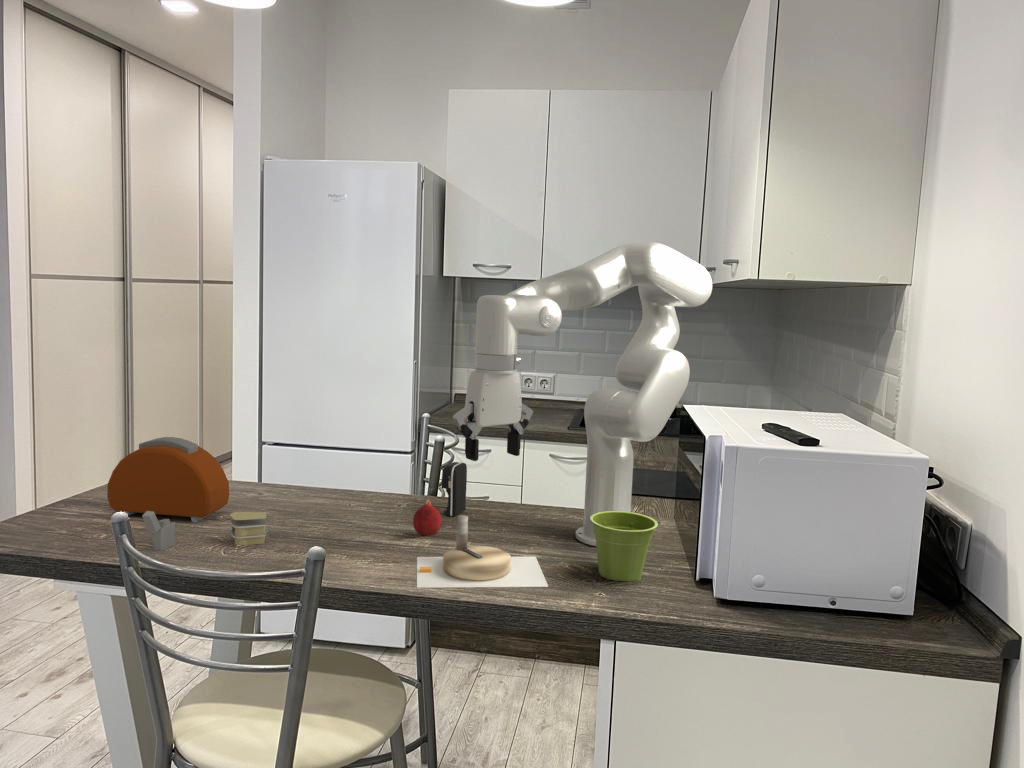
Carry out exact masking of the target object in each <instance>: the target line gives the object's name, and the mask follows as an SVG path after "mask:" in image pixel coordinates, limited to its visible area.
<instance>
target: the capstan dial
mask: <svg viewBox="0 0 1024 768" xmlns="http://www.w3.org/2000/svg"><path fill="white" fill-rule="evenodd" d="M468 534H469V516H468V515H465V514H464V515H463V514H460V515H459V514H458V515H456V539H455V540H456V543H455V548H454V547H453V548H451V549H449V550H446V551H445V552H444V553H443V555H442V557H443V570H444V571H445V572H446V573H447V574H449V575H451V576H454V577H457V578H461V579H468V580H489V579H495V578H499V577H502V576H505V575H506V574H508V573H509V572H510V570H511V557H512V556H511V554H510V553H508V552H507V551H505V550H503V549H500V548H497V547H493V546H487V545H486V546H484V545H468V536H469V535H468Z"/></svg>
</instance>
